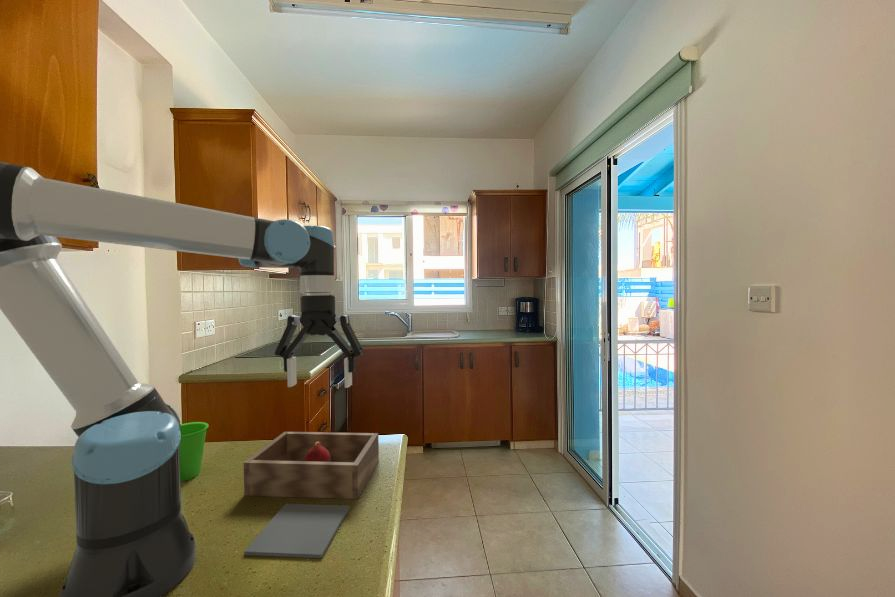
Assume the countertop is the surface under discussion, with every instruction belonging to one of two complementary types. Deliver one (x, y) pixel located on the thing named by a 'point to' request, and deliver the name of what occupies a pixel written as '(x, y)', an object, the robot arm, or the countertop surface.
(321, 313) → the robot arm
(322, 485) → the box
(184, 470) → the cup
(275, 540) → the mat
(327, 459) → the onion
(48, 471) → the countertop surface
